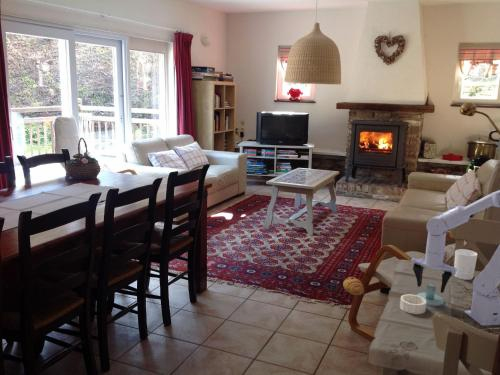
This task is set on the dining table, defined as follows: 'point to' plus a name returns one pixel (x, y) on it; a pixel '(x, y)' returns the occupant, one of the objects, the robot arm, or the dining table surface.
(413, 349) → the dining table surface
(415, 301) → the bowl
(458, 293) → the dining table surface
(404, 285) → the dining table surface
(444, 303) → the mat
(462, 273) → the white cup
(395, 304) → the dining table surface
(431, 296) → the lid
